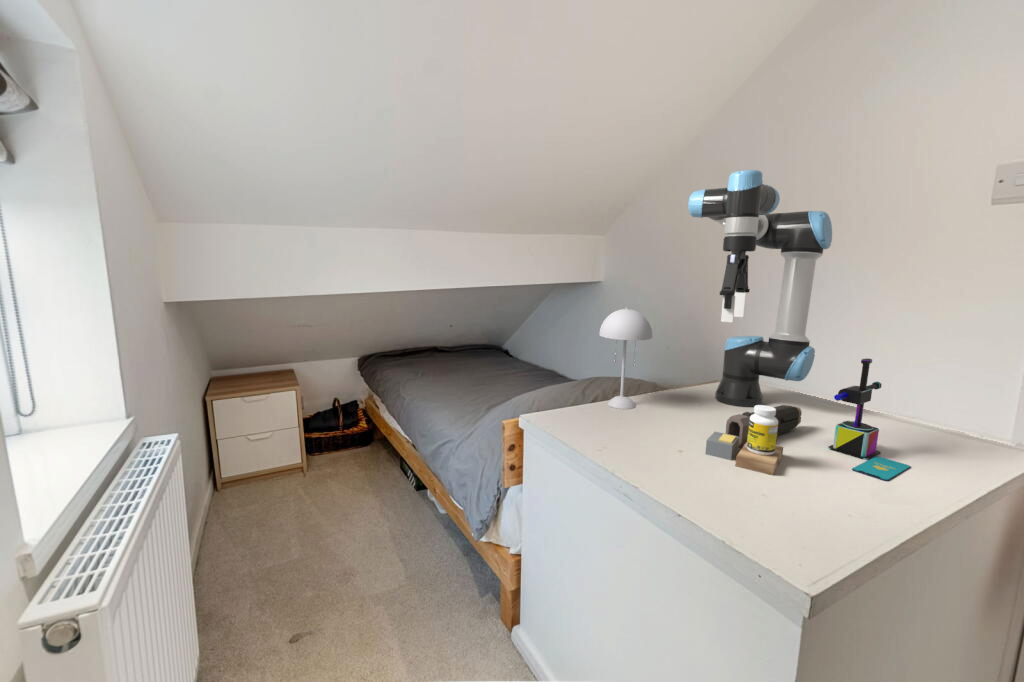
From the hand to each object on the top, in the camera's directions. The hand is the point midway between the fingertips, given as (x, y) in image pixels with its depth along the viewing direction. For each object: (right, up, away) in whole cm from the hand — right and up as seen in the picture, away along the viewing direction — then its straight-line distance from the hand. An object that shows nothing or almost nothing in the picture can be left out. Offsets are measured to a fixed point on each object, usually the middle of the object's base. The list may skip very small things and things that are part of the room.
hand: (732, 319), depth 124 cm
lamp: (-20, -27, +38) cm, 51 cm away
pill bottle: (+3, -33, -7) cm, 34 cm away
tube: (+14, -33, +10) cm, 37 cm away
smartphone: (+31, -37, -10) cm, 49 cm away
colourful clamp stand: (+36, -34, +4) cm, 50 cm away
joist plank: (+3, -35, -7) cm, 36 cm away
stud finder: (-4, -34, -2) cm, 35 cm away
